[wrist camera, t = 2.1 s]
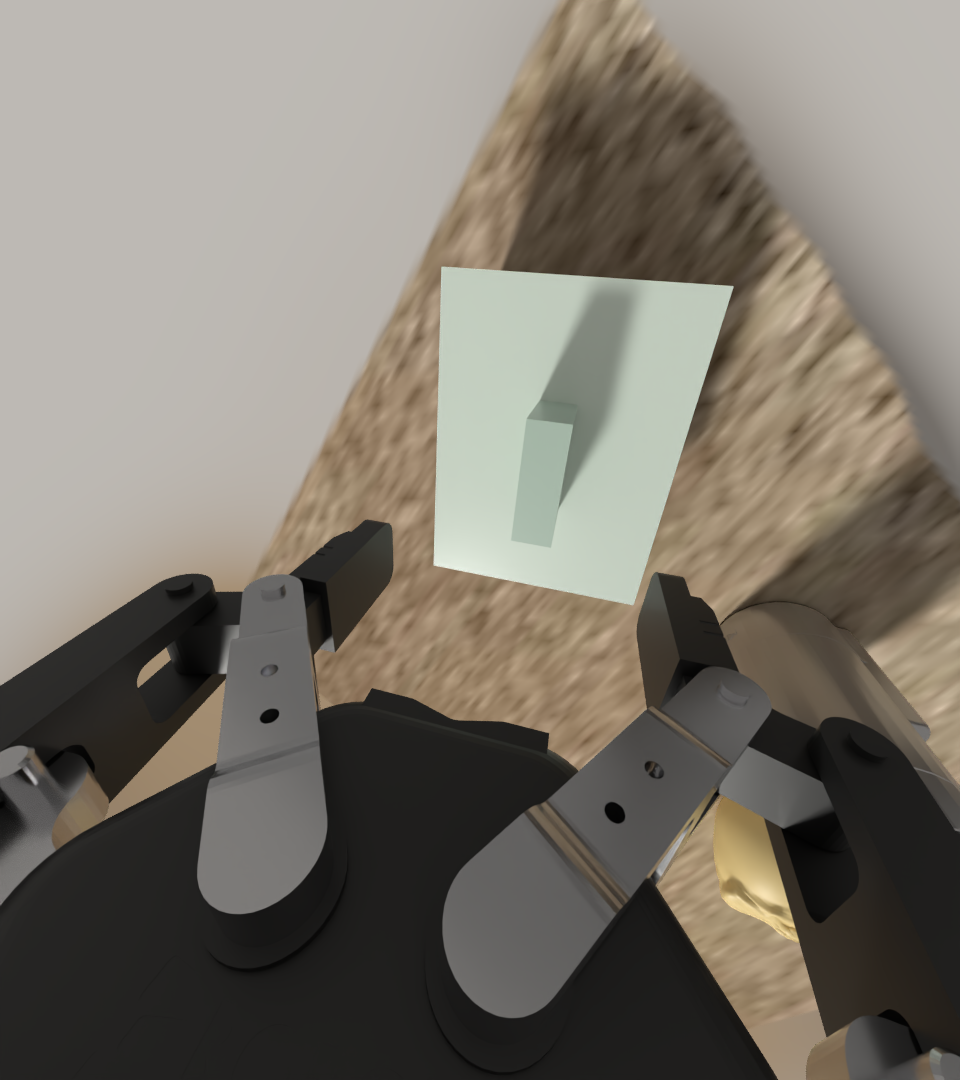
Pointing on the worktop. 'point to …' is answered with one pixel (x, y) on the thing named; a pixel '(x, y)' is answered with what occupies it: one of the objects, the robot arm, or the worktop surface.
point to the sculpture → (750, 867)
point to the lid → (564, 421)
